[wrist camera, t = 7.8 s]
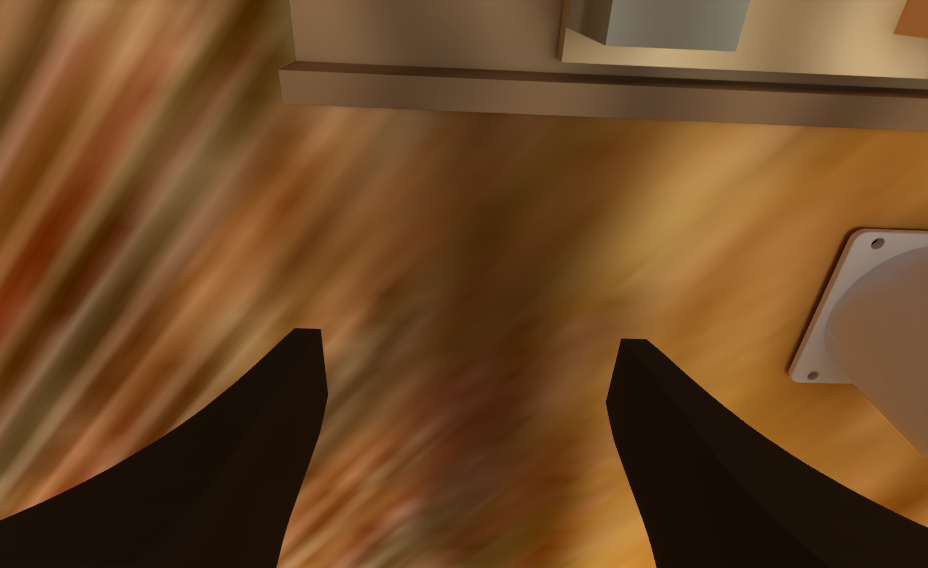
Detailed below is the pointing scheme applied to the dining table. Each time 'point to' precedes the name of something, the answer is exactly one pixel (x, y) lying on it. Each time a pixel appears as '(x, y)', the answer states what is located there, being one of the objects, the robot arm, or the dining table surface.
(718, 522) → the robot arm
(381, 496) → the dining table surface
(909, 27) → the orange cube
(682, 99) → the lane board
